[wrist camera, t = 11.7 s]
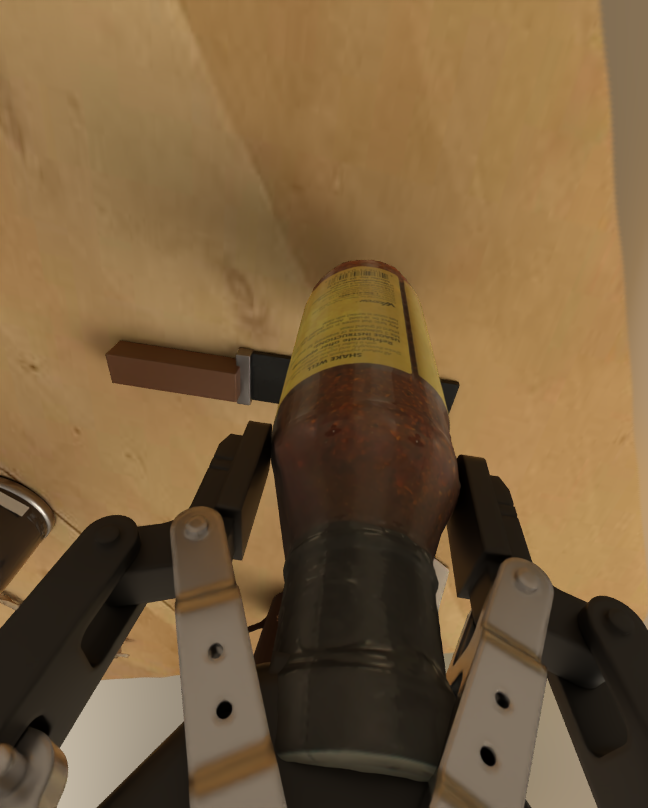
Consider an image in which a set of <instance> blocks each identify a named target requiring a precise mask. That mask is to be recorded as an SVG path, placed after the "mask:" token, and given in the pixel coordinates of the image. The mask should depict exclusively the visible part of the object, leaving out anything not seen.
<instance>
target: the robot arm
mask: <svg viewBox="0 0 648 808" xmlns="http://www.w3.org/2000/svg"><path fill="white" fill-rule="evenodd" d="M271 441H272V424H267V423H260V422H254V421H249V422H248V424H247V427H246V429H245V432H244V434H243V436H242V435H236V434H230V435H229V436H228V437H227V438H225V439H224V440H223V441H222V442H221V443H220V444H219V446H218V448H217V450H216V452H215V455H214V458H213V459H212V461H211V463H210V465H209V468H208V470H207V472H206V474H205V476H204V478H203V480H202V483H201V485H200V487H199V489H198V491H197V493H196V495H195V498H194V500H193V502H192V504H191V506H190V507H189V509H187V510H185V511H183V512H181V513H180V514H179V515H178V516H177V517H176V518H175V519H174V520H172V521H170V522H166V523H162V524H155V525H147V526H139V527H137V525H136V523H135V522H134V521H133V520H132V519H130V518H129V517H126V516H122V515H111V516H106V517H103V518H101V519H99V520H96V521H95V522H93V523H92V524H90V525H89V526H88V527H87V528H86V529H85V530H84V531H83V532H82V533H81V535H80V536H79V537H78V538H77V539H76V541H75V542H74V543H73V544H72V545H71V546H70V548H69V549H68V550H67V551H66V552H65V553H64V555H63V556H62V557H61V558H60V559H59V560H58V562H57V563H56V564H55V565H54V566H53V567H52V569H51V570H50V571H49V572H48V573H47V574H46V576H45V577H44V578H43V579H42V580H41V581H40V583H39V584H38V585H37V586H36V587H35V589H34V590H33V591H32V592H31V593H30V594H29V596H28V597H27V598H26V599H25V600H24V601H23V603H22V604H21V605H20V606H19V607H18V608H17V610H16V611H15V612H14V613H13V614H12V615H11V617H10V618H9V619H8V620H7V621H6V622H5V624H4V625H3V626H2V627H1V628H0V808H57V805H58V802H59V800H60V798H61V795H62V793H63V791H64V788H65V785H66V782H67V777H68V764H67V759H66V756H65V755H64V753H63V752H62V751H61V749H60V747H61V745H62V743H63V742H64V740H65V738H66V737H67V735H68V733H69V732H70V730H71V728H72V727H73V725H74V723H75V722H76V720H77V718H78V717H79V715H80V713H81V712H82V710H83V708H84V707H85V705H86V703H87V702H88V700H89V699H90V697H91V695H92V693H93V692H94V690H95V689H96V687H97V685H98V684H99V682H100V680H101V679H102V677H103V675H104V674H105V672H106V670H107V669H108V667H109V665H110V664H111V662H112V660H113V659H114V657H115V655H116V654H117V652H118V650H119V649H120V647H121V645H122V644H123V642H124V641H125V639H126V637H127V636H128V634H129V632H130V631H131V629H132V627H133V626H134V624H135V622H136V621H137V619H138V617H139V616H140V614H141V612H142V611H143V609H144V607H145V606H146V604H147V603H149V602H155V601H161V600H167V599H173V598H176V602H175V618H176V630H177V642H178V654H179V666H180V678H181V690H182V700H183V713H184V722H183V723H182V724H181V725H180V726H179V727H178V728H177V729H176V730H175V731H174V732H173V733H172V734H171V735H170V736H169V737H168V738H167V739H166V740H165V741H164V742H163V743H162V744H161V745H160V746H159V747H158V748H157V749H155V750H154V751H153V752H152V754H150V756H148V758H146V759H145V760H144V761H143V762H142V763H141V764H140V765H139V766H138V768H136V769H135V770H134V771H133V772H132V773H131V774H130V775H129V776H128V777H127V778H126V779H125V780H124V781H123V782H122V783H121V784H120V785H119V786H118V787H117V788H116V789H115V790H114V791H113V792H112V793H111V794H110V795H109V796H108V797H107V798H106V799H105V800H104V801H103V802H102V803H101V804H100V805H99V806H98V807H97V808H531V807H530V805H529V804H528V802H527V801H526V799H525V798H526V793H527V787H528V781H529V775H530V770H531V765H532V758H533V754H534V748H535V742H536V737H537V731H538V725H539V720H540V714H541V709H542V703H543V698H544V692H545V686H546V681H547V678H548V681H549V683H550V686H551V689H552V691H553V694H554V696H555V699H556V701H557V704H558V706H559V709H560V712H561V714H562V717H563V719H564V722H565V725H566V727H567V730H568V732H569V735H570V737H571V740H572V743H573V745H574V747H575V750H576V753H577V756H578V758H579V761H580V763H581V766H582V768H583V771H584V773H585V776H586V779H587V781H588V784H589V786H590V789H591V792H592V794H593V797H594V799H595V802H596V804H597V807H598V808H648V630H647V628H646V626H645V625H644V623H643V622H642V620H641V619H640V618H639V617H638V615H637V614H636V613H635V612H634V611H633V610H632V609H630V608H629V607H628V606H626V605H625V604H624V603H622V602H620V601H618V600H616V599H614V598H611V597H608V596H597V597H594V598H592V599H591V600H590V601H589V602H588V603H587V602H585V601H583V600H581V599H579V598H576V597H574V596H572V595H570V594H568V593H565V592H563V591H561V590H559V589H557V588H556V587H554V586H553V585H552V583H551V581H550V579H549V578H548V576H547V575H546V574H545V572H544V571H543V570H542V569H541V568H539V567H538V566H537V565H535V564H534V563H533V562H532V560H531V557H530V554H529V551H528V548H527V544H526V541H525V538H524V535H523V532H522V529H521V526H520V522H519V519H518V518H517V513H516V510H515V507H513V500H512V497H511V494H510V491H509V489H508V488H507V487H506V485H505V484H504V483H503V481H502V480H501V479H500V478H499V477H498V476H491V475H490V474H489V470H488V467H487V463H486V460H485V459H484V458H480V457H473V456H467V455H459V456H458V458H457V464H458V473H459V481H460V484H461V488H460V494H459V497H458V502H457V505H456V507H455V509H454V512H453V514H452V515H451V517H450V519H449V521H448V523H447V531H448V537H449V544H450V551H451V558H452V565H453V571H454V578H455V585H456V592H457V597H459V598H465V599H470V603H471V611H470V612H469V614H468V616H467V619H466V622H465V624H464V627H463V630H462V633H461V635H460V638H459V641H458V643H457V646H456V649H455V652H454V654H453V657H452V660H451V663H450V665H449V668H448V671H447V673H446V679H447V681H448V682H449V684H450V686H451V688H452V690H453V693H454V695H455V697H456V700H455V703H454V706H453V709H452V713H451V718H450V722H449V726H448V730H447V733H446V737H445V741H444V745H443V748H442V752H441V756H440V759H439V762H438V765H437V768H436V770H435V772H434V774H433V776H432V777H431V778H430V779H429V781H428V782H420V781H415V780H411V779H408V778H403V777H396V776H391V775H385V774H378V773H367V772H359V771H355V770H350V769H343V768H332V767H323V766H316V765H309V764H302V763H297V762H287V761H284V760H282V759H281V758H280V757H279V756H278V755H277V752H276V749H275V745H274V743H275V741H276V739H275V738H276V733H277V719H278V712H277V702H278V696H279V693H278V689H279V688H278V673H279V672H280V671H281V670H282V669H283V667H284V666H285V665H286V663H287V661H288V659H289V657H290V655H291V654H289V653H283V652H277V651H273V652H272V657H271V662H267V663H261V664H257V665H255V661H254V656H253V651H252V646H251V642H250V637H249V632H248V627H247V623H246V618H245V613H244V608H243V603H242V599H241V594H240V590H239V587H238V585H237V584H236V580H235V576H234V571H233V566H232V560H233V559H235V560H242V559H243V556H244V552H245V549H246V546H247V542H248V539H249V536H250V532H251V529H252V526H253V523H254V519H255V516H256V513H257V509H258V506H259V503H260V499H261V496H262V493H263V489H264V486H265V483H266V479H267V476H268V472H269V467H270V461H271ZM54 525H55V517H54V514H53V512H52V510H51V509H50V507H49V506H48V505H47V504H46V503H45V502H44V501H43V500H42V499H41V498H40V497H39V496H38V495H36V494H35V493H34V492H32V491H31V490H29V489H27V488H26V487H24V486H22V485H20V484H18V483H16V482H13V481H11V480H8V479H5V478H2V477H0V595H1V594H2V592H3V591H4V590H5V588H6V587H7V586H8V585H9V583H10V582H11V581H12V579H13V578H14V577H15V575H16V574H17V573H18V571H19V570H20V569H21V568H22V566H23V565H24V564H25V562H26V561H27V560H28V558H29V557H30V556H31V555H32V553H33V552H34V551H35V549H36V548H37V547H38V545H39V544H40V543H41V542H42V540H43V539H44V538H45V537H46V536H47V535H48V534H49V533H50V531H51V530H52V529H53V527H54Z"/></svg>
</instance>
